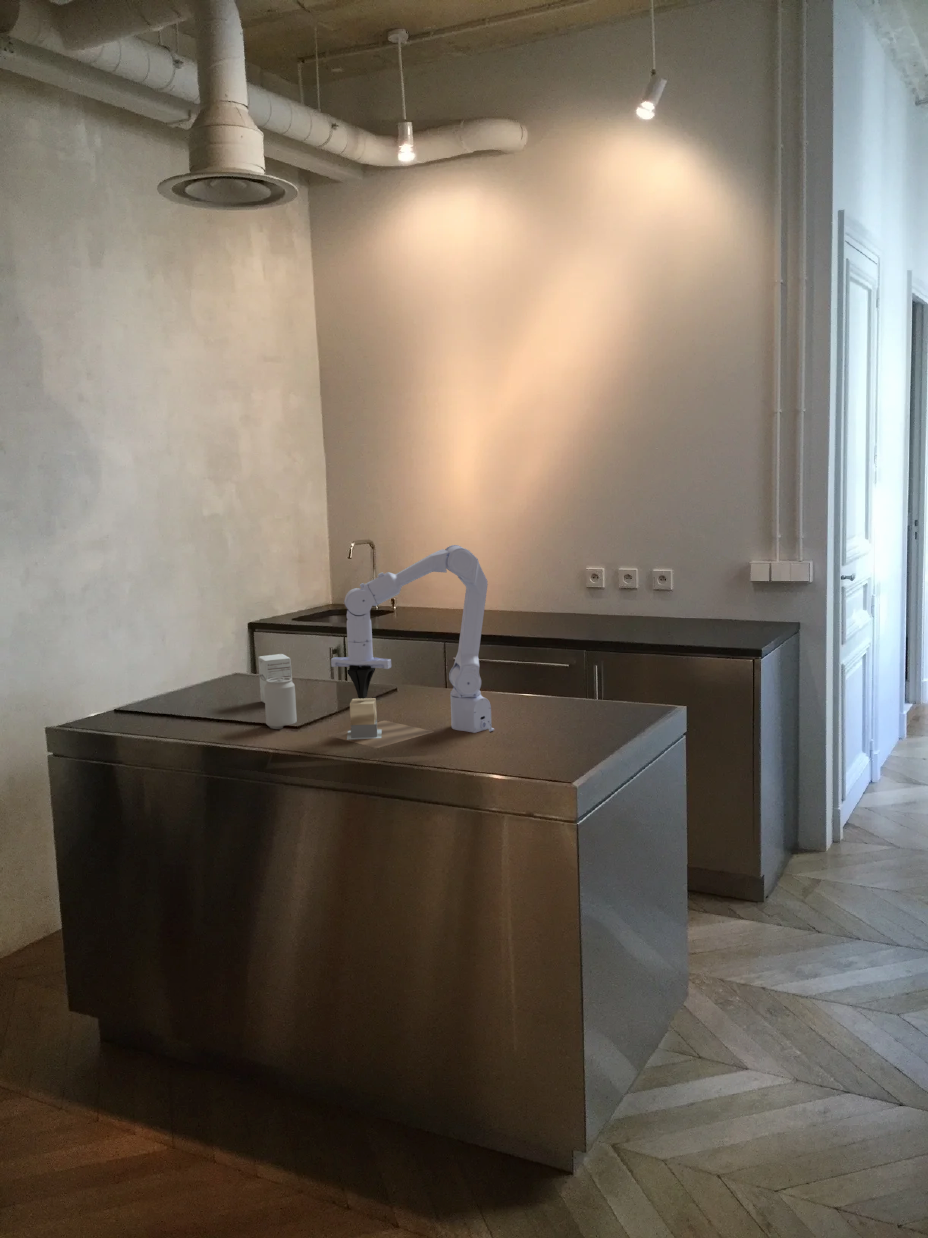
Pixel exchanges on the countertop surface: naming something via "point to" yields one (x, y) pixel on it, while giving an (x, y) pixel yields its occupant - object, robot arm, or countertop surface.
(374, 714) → the maple cube
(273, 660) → the supplement box
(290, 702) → the can
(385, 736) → the board
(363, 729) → the grey base block
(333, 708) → the countertop surface
